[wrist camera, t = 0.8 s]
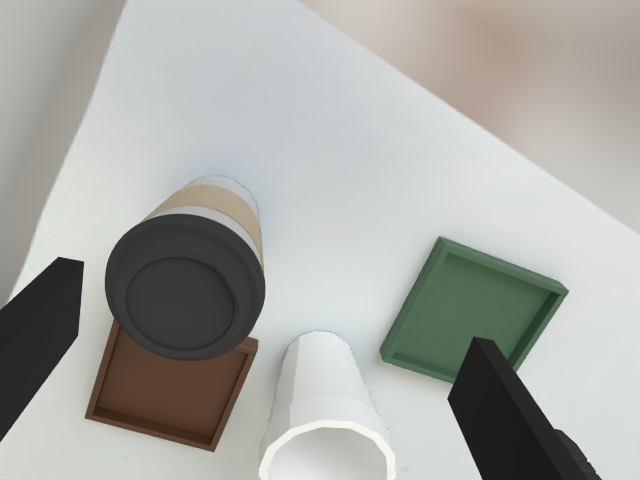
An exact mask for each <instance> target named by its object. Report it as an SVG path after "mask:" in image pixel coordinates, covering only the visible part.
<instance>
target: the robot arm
mask: <svg viewBox="0 0 640 480" xmlns="http://www.w3.org/2000/svg"><path fill="white" fill-rule="evenodd" d="M83 269H84V262H83V261H78V260H72V259H67V258H62V257H58V258H57V259H56V260H55V261H53V262H52V263H51V264H50V265H49V266H48V267H47V268H46V269H45V270H44V271H43V272H42V273H40V274H39V275H38V276H37V277H36V278H35V279H34V280H33V281H32V282H31V283H30V284H28V285H27V286H26V287H25V288H24V289H23V290H22V291H21V292H20V293H19V294H18V295H16V296H15V297H14V298H13V299H12V300H11V301H10V302H9V303H8V304H7V305H6V306H4V307H3V308H2V309H1V310H0V442H1V441H2V439H3V438H4V436H5V435H6V434H7V432H8V431H9V430H10V428H11V427H12V426H13V424H14V423H15V421H16V420H17V419H18V417H19V416H20V415H21V413H22V412H23V410H24V409H25V408H26V406H27V405H28V404H29V402H30V401H31V399H32V398H33V397H34V395H35V394H36V393H37V391H38V390H39V389H40V387H41V386H42V384H43V383H44V382H45V380H46V379H47V378H48V376H49V375H50V373H51V372H52V371H53V369H54V368H55V367H56V365H57V364H58V362H59V361H60V360H61V358H62V357H63V356H64V354H65V353H66V352H67V350H68V349H69V347H70V346H71V345H72V343H73V342H74V341H75V339H76V338H77V336H78V330H79V318H80V306H81V294H82V282H83ZM448 402H449V404H450V406H451V409H452V411H453V413H454V415H455V418H456V420H457V422H458V425H459V427H460V429H461V431H462V434H463V436H464V438H465V441H466V443H467V445H468V447H469V450H470V452H471V454H472V457H473V459H474V461H475V463H476V466H477V468H478V470H479V473H480V475H481V477H482V479H483V480H602V479H601V478H600V477H599V475H597V474H596V471H595V470H594V468H593V467H592V465H591V464H590V463H589V462H587V458H586V457H585V455H584V454H583V453H582V451H581V450H580V448H579V447H578V446H577V444H576V443H575V442H574V441H572V440H571V439H570V438H569V437H568V436H567V435H566V434H565V433H564V432H563V431H561V430H557V429H554V428H553V427H552V425H551V424H550V422H549V421H548V419H547V418H546V417H545V415H544V414H543V412H542V411H541V409H540V408H539V406H538V405H537V403H536V402H535V400H534V399H533V397H532V396H531V394H530V393H529V391H528V390H527V389H526V387H525V386H524V384H523V383H522V381H521V380H520V378H519V377H518V375H517V374H516V372H515V371H514V369H513V368H512V366H511V365H510V363H509V362H508V361H507V359H506V358H505V356H504V355H503V353H502V352H501V350H500V349H499V347H498V346H497V344H496V343H495V341H494V340H490V339H485V338H480V337H474V336H473V339H472V341H471V343H470V346H469V348H468V351H467V353H466V355H465V358H464V360H463V363H462V365H461V367H460V370H459V372H458V375H457V377H456V379H455V382H454V384H453V387H452V389H451V391H450V394H449V396H448Z"/></svg>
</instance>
